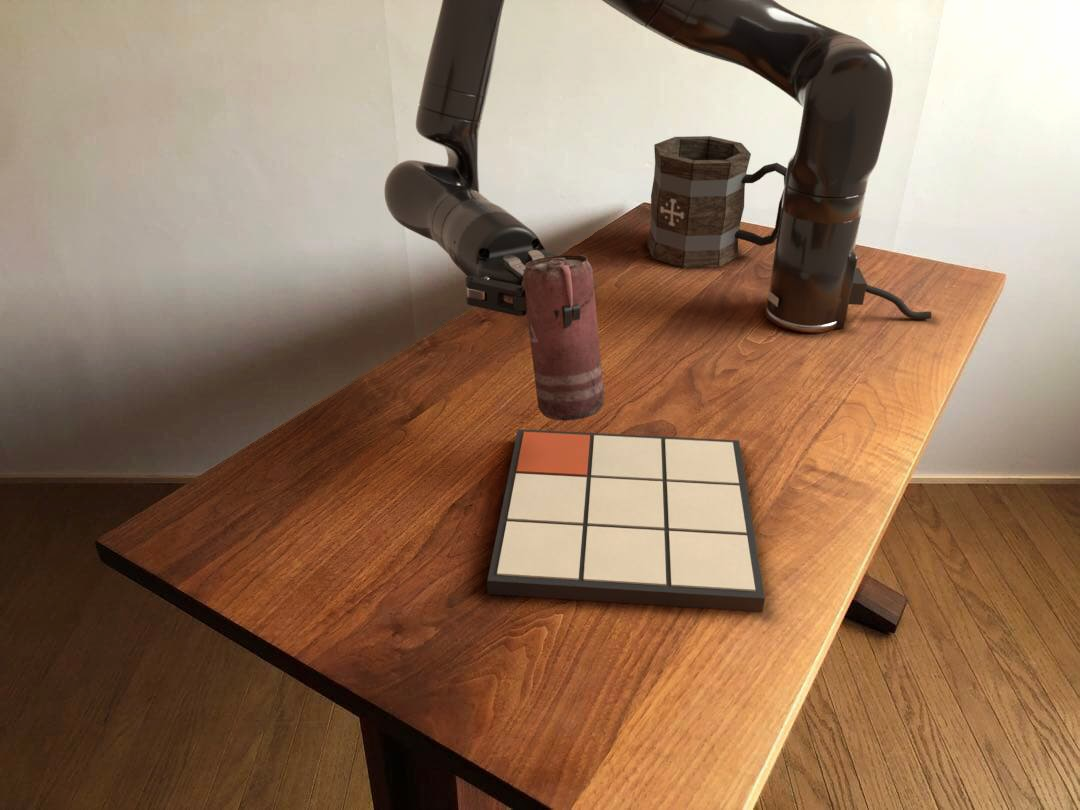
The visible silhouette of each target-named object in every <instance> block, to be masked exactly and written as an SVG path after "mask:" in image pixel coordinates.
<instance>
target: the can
mask: <svg viewBox="0 0 1080 810" xmlns="http://www.w3.org/2000/svg"><path fill="white" fill-rule="evenodd" d="M557 255H558V256H550V257H544V258H540V259H536V260H533V261H530V262H528V263H527V264H526V268H525V271H524V273H523V282H524V289H525V296H526V305H527V311H526V317H527V322H528V323H527V324H528V330H529V332H528V333H529V339H530V341H529V342H530V349H531V350H530V351H531V358H532V365H533V366H532V367H533V374H534V383H535V391H536V392H535V393H536V399H537V407H538V409H539V411H540V413H541V414H542V415H543V416H544V417H546V418H547V419H551V420H553V421H561V422H563V421H574V420H576V421H577V420H582V419H586V418H589V417H592V416H594V415H596V414H598V413H599V412H600V411H601V409H602V407H603V406H604V403H605V393H604V382H603V371H602V369H603V368H602V359H601V358H602V357H601V351H600V350H601V349H600V348H601V347H600V337H599V325H598V317H597V316H598V315H597V305H596V294H595V283H594V272H593V271H594V270H593V267H592V265H591V264H590V262H589V261H588V257H587V258H586V257H585V256H581V255H579V254H561V255H559V254H557ZM577 304H579V306H580V319H579V320H574V321H573V315H572V323H571V325H570V326H569V327H568V328H566V329H564V322H563V312H562V306H570V307H571V309H572V306H573V305H577ZM554 310H558V311H559V314H558V317H557V320H556V317H555V313H554Z"/></svg>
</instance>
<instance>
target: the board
mask: <svg viewBox="0 0 1080 810" xmlns="http://www.w3.org/2000/svg"><path fill="white" fill-rule="evenodd" d="M744 468H745V467H744V462H743V455H742V450H741V443H740V440H738V439H719V438H701V437H700V438H697V437H695V438H694V437H679V436H678V437H677V436H659V435H642V434H641V435H640V434H638V435H637V434H619V433H618V434H617V433H601V432H600V433H599V432H583V431H582V432H581V431H562V430H561V431H559V430H543V429H542V430H540V429H523V428H522V429H521V428H519V429H517V431H516V436H515V441H514V446H513V451H512V456H511V462H510V467H509V472H508V476H507V481H506V487H505V491H504V495H503V501H502V505H501V511H500V516H499V520H498V526H497V531H496V535H495V540H494V546H493V550H492V554H491V561H490V565H489V570H488V573H487V574H488V575H487V580H486V584H487V586H486V588H487V595H494V596H495V595H496V596H509V597H511V596H512V597H528V598H539V599H540V598H541V599H557V600H574V601H589V602H601V603H602V602H603V603H605V602H606V603H620V604H632V605H633V604H634V605H649V606H650V605H651V606H666V607H679V608H681V607H682V608H695V609H696V608H697V609H711V610H725V611H726V610H727V611H740V612H741V611H742V612H758V613H763V612H764V606H765V600H766V597H765V596H766V595H765V589H764V584H763V578H762V573H761V566H760V559H759V554H758V548H757V541H756V535H755V530H754V529H755V528H754V523H753V517H752V510H751V505H750V499H749V494H748V493H749V491H748V487H747V481H746V474H745V469H744Z"/></svg>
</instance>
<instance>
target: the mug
mask: <svg viewBox="0 0 1080 810" xmlns="http://www.w3.org/2000/svg"><path fill="white" fill-rule="evenodd" d="M653 147H654V148H653V149H654V150H653V151H654V172H653V173H654V174H653V181H652V188H651V194H650V227H649V234H648V238H647V244H646V245H647V248H648V250H649V252H650V254H651V257H652V259H655V260H657V261H659V262H660V261H661V262H663V263H665V264H670V265H673V266H676V267H678V268H682V269H691V268H692V269H694V268H695V269H696V268H697V269H698V268H720V267H722V266H723V265H725V264H726V263H729V262H731V261H732V260H734V259H736V258H737V257H738V256H739V240H742V241H745V242H748V243H752V244H755V245H757V246H760V247H763V246H767V245H771V244H774V243H775V242H776V241H777V234H778V227H779V221H780V214H781V207H782V200H783V193H784V189H783V191H782V193H781V196H780V199H779V202H778V208H777V212H776V220H775V225H774V229H773V230H772V232H771V234H770V235H766V236H761V235H758V234H757V233H754V232H752V231H749V230H745V229H741V228H740V226H741V223H742V222H741V221H742V218H743V213H744V209H745V194H746V193H745V190H746V184H755V183H756V182H758V181H760V180H761V179H762V178H763V177H765V175H767V174H771V173H773V172H775V173H778V174H780V175H781V176H783V187H784V186H785V179H786V172H787V167H786V166H784V165H782V164H780V163H778V162H774V163H769V164H765V165H763V166H762V167H761V168H759V169H758V170H757V171H755V172H754V173H752V174H751V173H750V174H749V173H748V168H749V165H750V161H751V160H750V159H751V156H752V153H751V152H750V151H749V150H748V148H746V146H745V145H744V144H743V143H742V142H740V141H734V140H730V139H726V138H721V137H716V136H711V135H708V136H707V135H702V136H701V135H699V136H698V135H697V136H694V135H693V136H673V137H671V138H668V139H665V140H663V141H659V142H657V143H655V144H654V145H653ZM747 173H748V174H747Z"/></svg>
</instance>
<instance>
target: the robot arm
mask: <svg viewBox="0 0 1080 810" xmlns="http://www.w3.org/2000/svg"><path fill="white" fill-rule="evenodd" d="M601 1H602V2H603V3H605V4H607V5H608V6H609V7H611V8H612V9H614V10H616V11H618V13H620V14H622V15H624V16H625V17H627V18H629V19H630V20H632V21H633V22H634V23H637V24H638V25H640V26H642V27H644V28H645V29H647V30H649V31H651V32H653V33H655V34H656V35H658V36H660V37H662V38H664V39H665V40H667V41H669V42H671V43H673V44H676V45H678V46H680V47H682V48H685V49H688V50H690V51H693V52H696V53H698V54H701V55H704V56H707V57H710V58H714V59H717V60H720V61H725V62H728V63H731V64H735V65H737V66H740V67H743V68H745V69H747V70H749V71H751V72H753V73H754V74H756V75H758V76H760V77H761V78H763V79H764V80H766V81H768V82H769V83H770V84H772V85H773V86H775V87H776V88H778V89H780V90H781V91H782V92H783V93H785V94H787V96H789V97H791V98H792V99H793V100H794V101H795V102H797V103H798V104H799V105H800V106H801V107H802V116H801V120H800V121H801V122H800V127H799V133H798V139H797V145H796V149H795V153H794V154H793V155H792V156H791V157H790V159H788V162H787V167H786V168H787V172H786V179H785V186H784V185H783V187H784V188H783V190H784V193H783V192H782V193H783V200H782V207H781V214H780V221H779V227H778V234H777V239H776V240H775V249H774V254H773V262H772V269H771V275H770V280H769V281H770V282H769V289H768V293H767V300H766V301H767V302H766V305H765V312H764V313H765V316H766V318H767V319H768V320H769V321H770V322H771V323H773V324H774V325H776V326H778V327H780V328H783V329H785V330H788V331H793V332H800V333H808V334H809V333H811V334H815V333H816V334H817V333H825V332H829V331H833V330H835V329H845V326H846V319H847V315H848V309H849V305H856V306H863V305H864V300H865V295H866V293H867V294H870V295H874V296H877V297H880V298H882V299H885V300H887V301H889V302H891V303H893V304H894V305H895V306H896V307H897V309H898V310H899V311H900V313H902V314H903V315H904V316H905V317H908V318H909V319H911V320H930V319H932V311H913V310H911V309H910V308H909V307H908V306H907V305H906V304H905V302H904V301H903V300H902V299H901V298H900V297H898V296H897V295H895V294H893V293H891V292H889V291H887V290H884V289H882V288H878V287H876V286H873V285H870V284H868V283H867V281H866V279H865V277H864V275H863V273H862V271H861V268H860V267H857V265H858V258H859V257H858V255H857V252H856V251H855V249H856V243H857V240H858V239H857V238H858V233H859V228H860V223H861V218H862V212H863V207H864V202H865V198H866V193H867V187H868V182H869V178H870V176H871V174H872V173H873V171H874V169H875V168H876V165H877V163H878V160H879V157H880V154H881V150H882V149H881V148H882V146H883V145H882V144H883V141H884V136H885V131H886V128H887V123H888V119H889V115H890V110H891V105H892V99H893V93H894V92H893V91H894V79H893V73H892V69H891V66H890V64H889V63H888V61H887V60H886V58H885V57H884V56H883V55H882V54H880V52H878V51H877V50H876V49H874V47H872V46H870V45H869V44H868V43H866V42H865V41H863V40H862V39H860V38H858V37H855V36H853V35H850V34H848V33H845V32H843V31H842V32H841V31H839V30H837V29H833V28H832V27H829V26H826V25H824V24H821V23H818V22H817V21H814V20H812V19H810V18H808V17H805V16H803V15H801V14H799V13H796V12H795V11H793V10H790V9H789V8H787V7H785V6H783V5H781V4H780V3H778V2H777V1H776V0H601ZM504 4H505V0H442V1H441V5H440V9H439V15H438V18H437V22H436V27H435V31H434V34H433V38H432V43H431V47H430V50H429V55H428V59H427V63H426V67H425V72H424V77H423V82H422V87H421V93H420V97H419V102H418V106H417V111H416V117H415V129H416V131H417V133H418V134H419V135H420V136H421V137H422V138H424V139H426V140H428V141H430V142H432V143H434V144H437V145H439V146H441V147H443V148H444V149H445V151H446V155H447V163H446V165H445V164H439V163H433V162H428V161H427V162H426V161H422V160H417V159H416V160H415V159H409V160H408V159H407V160H404V161H401V162H399V163H398V164H396V165H395V166H393V168H392V169H391V170H390V171H389V173H388V174H387V176H386V179H385V183H384V187H383V188H384V190H383V191H384V200H385V205H386V207H387V209H388V212H389V213H390V215H391V216H392V218H393V219H394V220H395V221H396V222H397V223H398V224H400V225H401V226H403V227H404V228H406V229H407V230H410V231H412V232H414V233H416V234H417V235H419V236H421V237H424V238H426V239H428V240H431V241H433V242H435V243H437V244H438V246H440V248H442V249H443V250H444V252H446V253H447V254H448V256H449V257H450V259H451V261H452V262H453V263H454V264H455V265H456V267H458V269H459V270H460V271H462V273H463V274H464V275H465V276H466V278H465V290H466V291H465V293H466V295H465V296H466V304H467V305H468V306H472V307H475V308H481V309H483V310H484V309H485V310H489V311H494V312H498V313H501V314H507V315H511V316H516V317H524V316H527V305H526V296H525V289H524V282H523V273H524V271H525V268H526V264H527V263H528V262H530V261H533V260H536V259H540V258H544V257H550V256H558V255H559V254H557V253H555V252H551V251H548V250H546V249H545V247H544V245H543V243H542V242H541V240H540V238H539V236H538V235H537V234H536V233H535V232H534V231H533V230H532V229H530V228H529V227H528V226H527V225H525V224H524V223H523V222H521V221H520V220H519V219H518V218H516V217H515V216H513V214H511V213H510V212H509V211H507V210H506V209H504V208H503V207H501V206H500V205H498V204H495V203H493V202H492V201H490V200H489V199H488V198H486V197H485V196H484V195H483V194H481V193H480V179H479V136H480V128H481V123H482V120H483V114H484V110H485V106H486V102H487V97H488V93H489V88H490V83H491V80H492V79H491V78H492V73H493V67H494V63H495V56H496V49H497V43H498V36H499V31H500V24H501V18H502V15H503V10H504ZM578 255H581V256H585V257H586V258H587V259H588V256H587V255H586V254H579V253H578ZM505 299H507V300H508V301H512V302H507V301H506V300H505ZM562 312H563V322H564V329H566V328H568V327H569V326H570V325H571V323H572V315H573V321H574V320H579V319H580V306H579V304H577V305H573V306H572V309H571V307H570V306H562ZM554 313H555V317H556V320H557V317H558V314H559V311H558V310H554Z"/></svg>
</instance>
